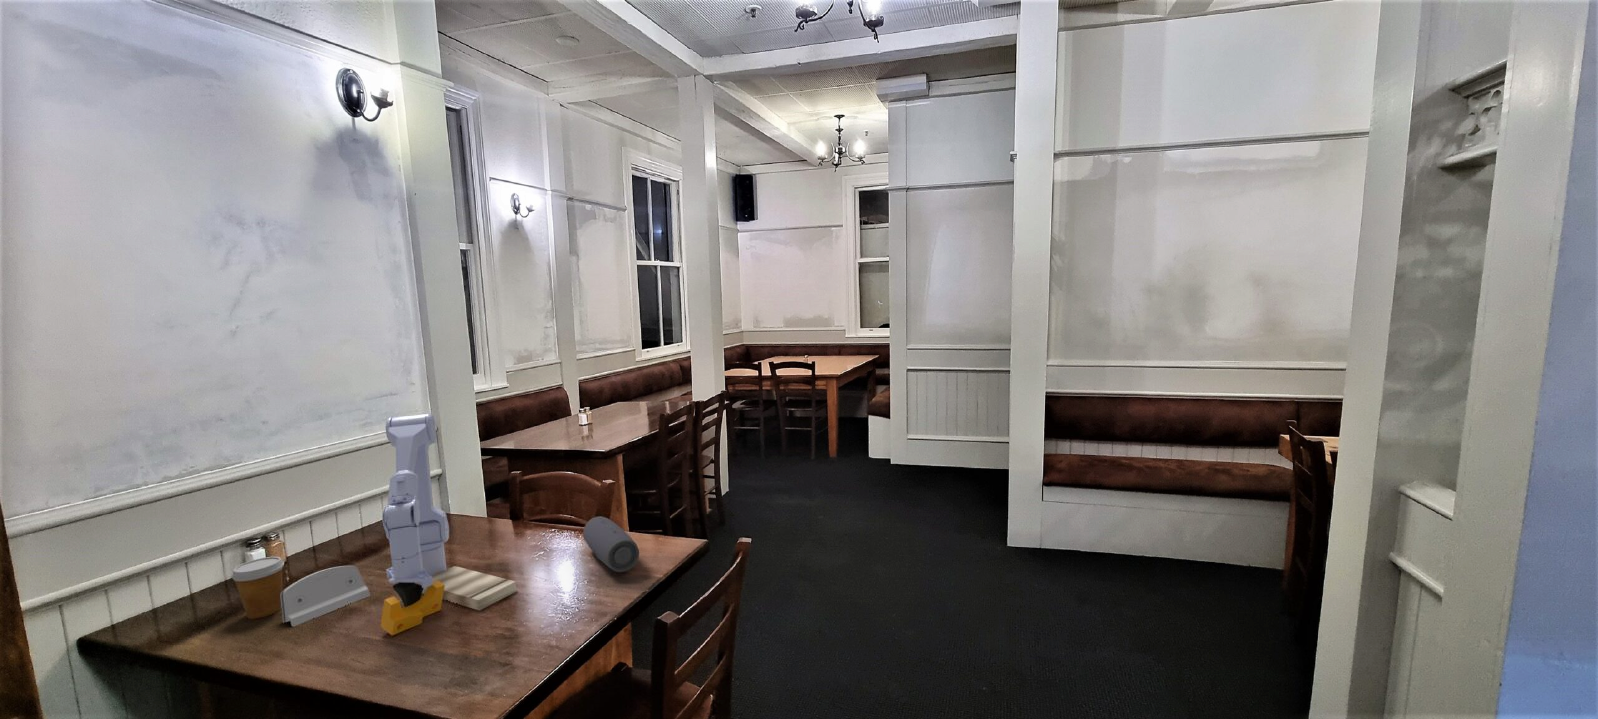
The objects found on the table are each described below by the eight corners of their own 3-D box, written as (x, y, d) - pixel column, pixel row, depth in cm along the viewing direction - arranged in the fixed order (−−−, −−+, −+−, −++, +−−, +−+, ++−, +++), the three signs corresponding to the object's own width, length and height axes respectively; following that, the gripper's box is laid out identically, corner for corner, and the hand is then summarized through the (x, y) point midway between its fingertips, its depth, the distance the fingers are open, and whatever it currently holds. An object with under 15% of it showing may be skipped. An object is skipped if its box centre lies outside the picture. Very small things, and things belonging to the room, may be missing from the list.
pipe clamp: (392, 635, 132) (396, 608, 131) (380, 626, 134) (384, 599, 133) (445, 613, 143) (449, 588, 142) (433, 604, 145) (437, 580, 144)
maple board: (417, 591, 154) (416, 582, 154) (455, 574, 163) (454, 565, 162) (479, 610, 143) (478, 599, 142) (516, 591, 152) (515, 581, 151)
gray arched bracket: (291, 627, 139) (278, 584, 140) (283, 629, 142) (271, 587, 143) (372, 594, 154) (361, 556, 154) (364, 597, 156) (353, 559, 157)
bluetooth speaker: (643, 570, 160) (640, 533, 158) (607, 581, 154) (604, 543, 153) (615, 544, 178) (612, 510, 177) (582, 552, 173) (579, 518, 172)
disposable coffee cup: (299, 604, 150) (293, 557, 149) (254, 624, 141) (247, 575, 140) (273, 600, 153) (267, 554, 152) (228, 619, 145) (220, 570, 143)
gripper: (369, 556, 140) (376, 613, 141) (407, 566, 133) (414, 626, 134) (401, 544, 146) (408, 599, 147) (439, 553, 139) (445, 610, 140)
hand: (413, 611), depth 141 cm, fingers closed
